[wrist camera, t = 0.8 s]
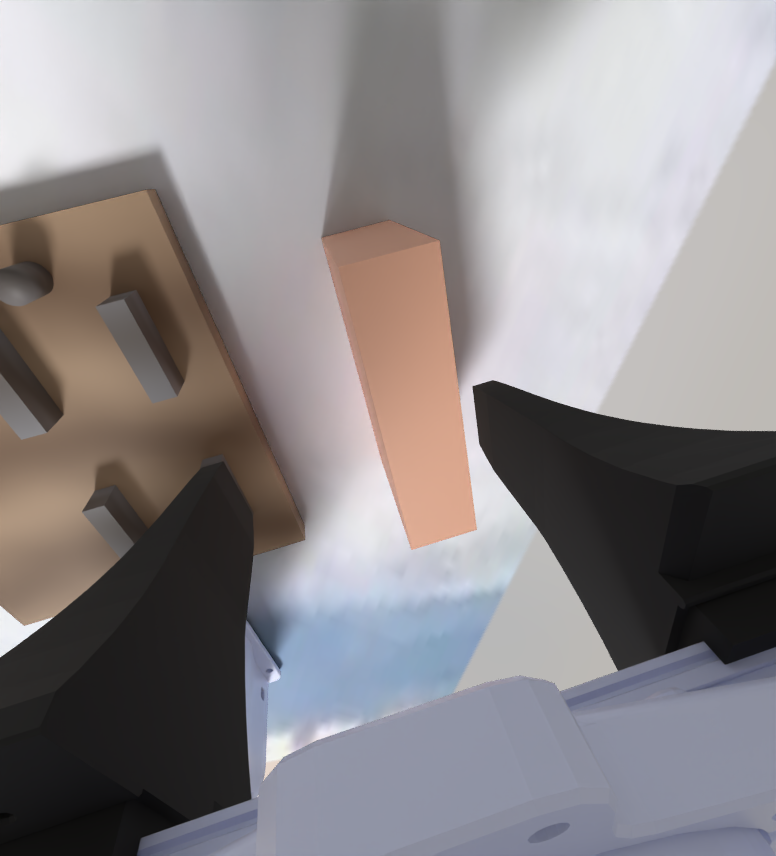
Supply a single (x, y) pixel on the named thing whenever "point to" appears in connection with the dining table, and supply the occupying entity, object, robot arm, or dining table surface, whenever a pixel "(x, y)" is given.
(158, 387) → the cabinet side board
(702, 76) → the dining table surface
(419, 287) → the door panel
